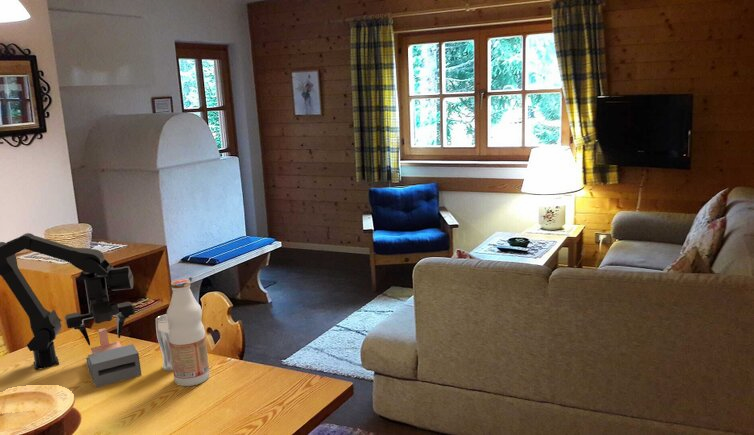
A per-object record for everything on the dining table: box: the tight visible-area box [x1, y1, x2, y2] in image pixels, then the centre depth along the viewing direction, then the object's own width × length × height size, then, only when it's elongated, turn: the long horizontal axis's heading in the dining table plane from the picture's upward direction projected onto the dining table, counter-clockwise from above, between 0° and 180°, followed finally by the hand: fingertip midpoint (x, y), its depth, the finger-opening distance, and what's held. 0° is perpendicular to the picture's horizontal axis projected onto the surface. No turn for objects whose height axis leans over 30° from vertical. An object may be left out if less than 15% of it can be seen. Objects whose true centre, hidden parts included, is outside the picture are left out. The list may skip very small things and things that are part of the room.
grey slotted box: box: [85, 343, 142, 388], centre depth 178 cm, size 16×12×7 cm
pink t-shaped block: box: [90, 328, 123, 354], centre depth 182 cm, size 16×8×5 cm, turn 32°
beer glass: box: [155, 313, 173, 372], centre depth 178 cm, size 7×7×15 cm
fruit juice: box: [166, 278, 210, 387], centre depth 168 cm, size 9×9×28 cm
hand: (104, 341), depth 188 cm, fingers open, 8 cm apart
